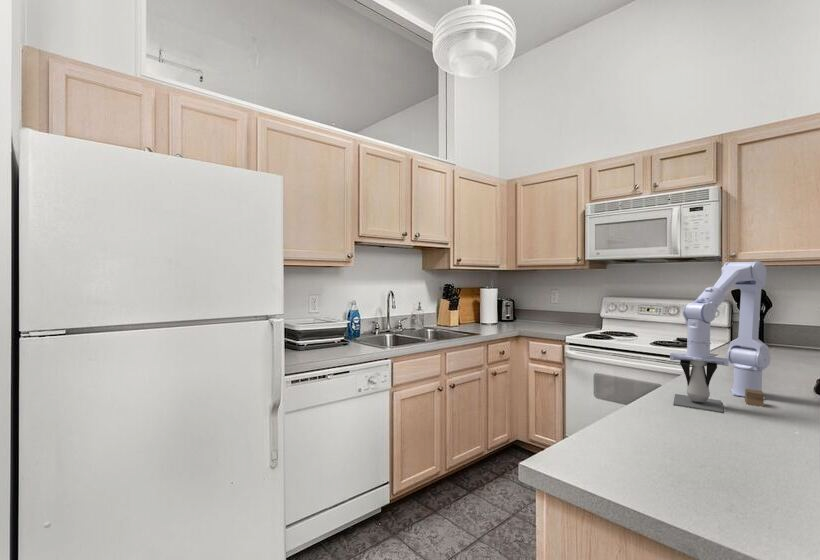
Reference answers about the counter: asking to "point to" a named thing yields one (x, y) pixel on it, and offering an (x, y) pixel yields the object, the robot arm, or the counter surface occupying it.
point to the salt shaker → (698, 382)
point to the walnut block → (754, 397)
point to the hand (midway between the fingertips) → (697, 386)
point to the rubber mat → (698, 403)
